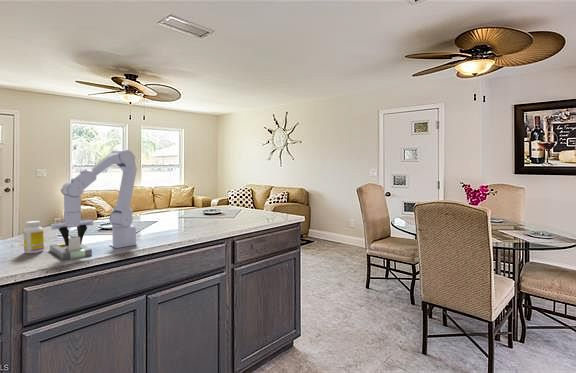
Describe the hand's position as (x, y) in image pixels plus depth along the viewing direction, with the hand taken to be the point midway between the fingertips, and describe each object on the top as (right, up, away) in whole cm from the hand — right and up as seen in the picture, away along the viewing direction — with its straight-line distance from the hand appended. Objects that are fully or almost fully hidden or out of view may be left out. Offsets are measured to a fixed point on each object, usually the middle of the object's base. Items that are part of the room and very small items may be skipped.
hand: (73, 244), depth 136 cm
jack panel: (-3, -4, +3) cm, 6 cm away
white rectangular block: (0, -4, 0) cm, 4 cm away
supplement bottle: (-19, -4, +4) cm, 20 cm away
